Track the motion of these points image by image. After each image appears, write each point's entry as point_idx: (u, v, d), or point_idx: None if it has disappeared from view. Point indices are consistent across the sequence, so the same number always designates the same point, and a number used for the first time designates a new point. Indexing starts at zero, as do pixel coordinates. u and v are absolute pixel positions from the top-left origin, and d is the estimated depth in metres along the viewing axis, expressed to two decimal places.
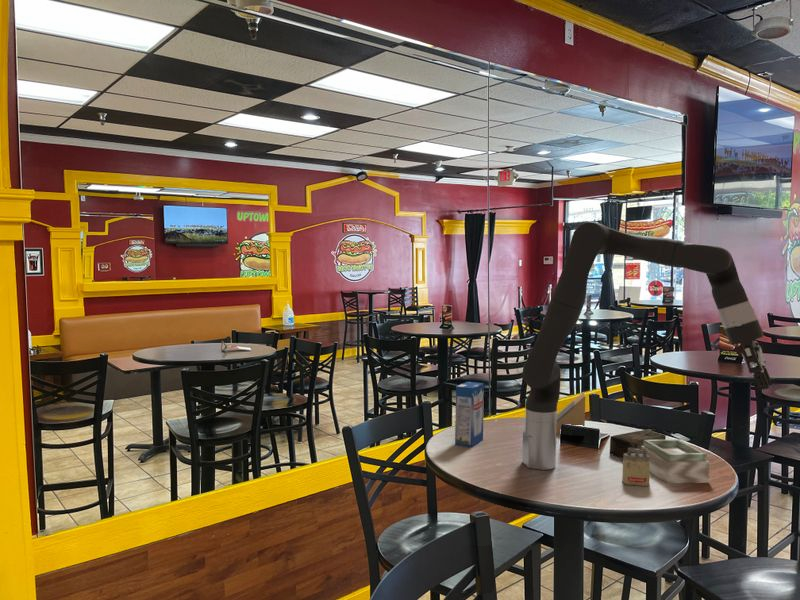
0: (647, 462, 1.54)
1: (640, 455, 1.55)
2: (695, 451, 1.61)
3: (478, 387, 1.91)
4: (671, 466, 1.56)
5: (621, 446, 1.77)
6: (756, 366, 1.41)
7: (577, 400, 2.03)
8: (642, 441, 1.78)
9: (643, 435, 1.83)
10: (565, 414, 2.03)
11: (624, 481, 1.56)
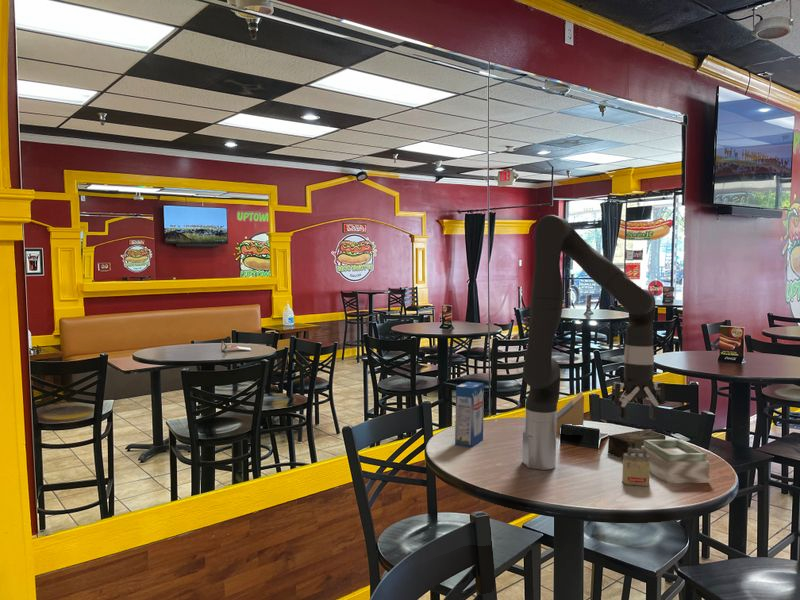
0: (647, 462, 1.54)
1: (640, 455, 1.55)
2: (695, 451, 1.61)
3: (478, 387, 1.91)
4: (671, 466, 1.56)
5: (619, 445, 1.78)
6: (650, 402, 1.56)
7: (576, 400, 2.04)
8: (640, 441, 1.79)
9: (642, 435, 1.83)
10: (564, 414, 2.03)
11: (624, 481, 1.56)
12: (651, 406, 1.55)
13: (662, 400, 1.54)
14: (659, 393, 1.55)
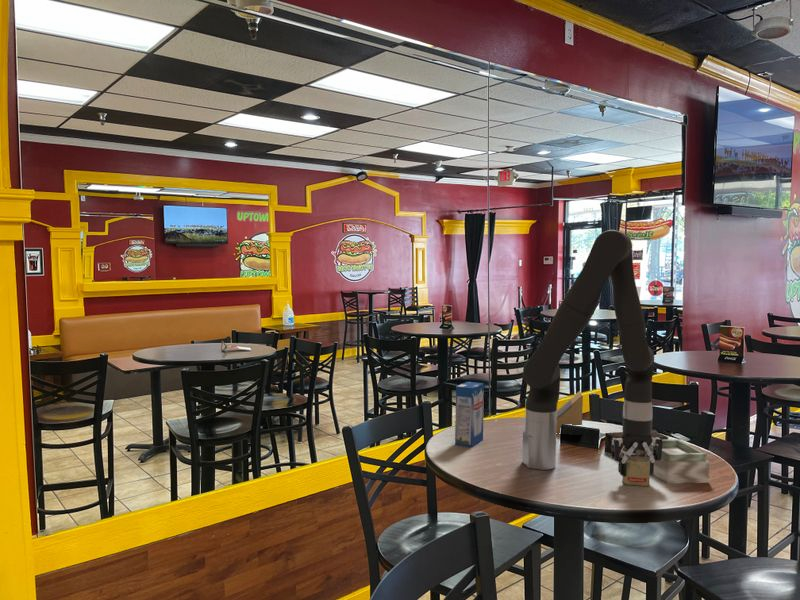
0: (647, 462, 1.54)
1: (640, 455, 1.55)
2: (695, 451, 1.61)
3: (478, 387, 1.91)
4: (671, 466, 1.56)
5: None
6: None
7: (574, 399, 2.04)
8: None
9: None
10: (563, 413, 2.03)
11: (624, 481, 1.56)
12: None
13: (658, 456, 1.55)
14: (656, 449, 1.56)
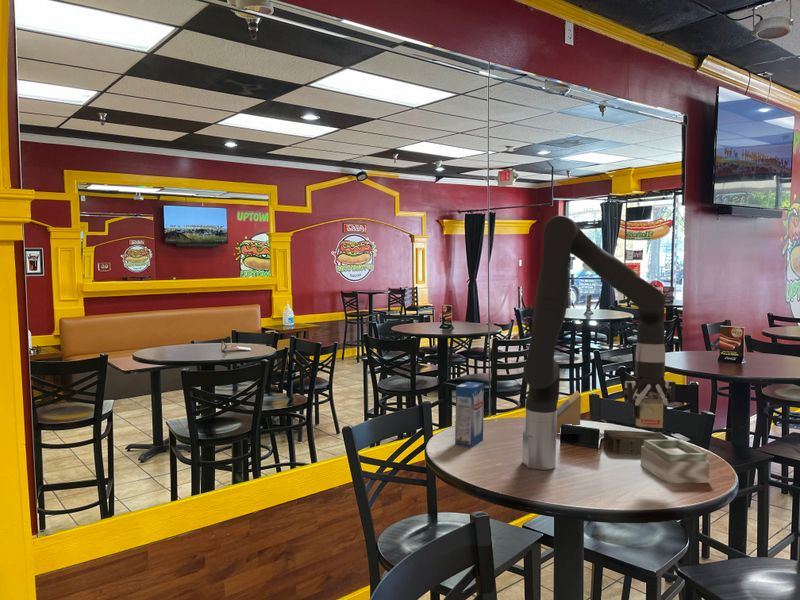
0: (660, 404, 1.55)
1: (653, 398, 1.57)
2: (695, 451, 1.61)
3: (478, 387, 1.91)
4: (671, 466, 1.56)
5: (606, 439, 1.84)
6: None
7: (572, 399, 2.05)
8: (629, 438, 1.81)
9: (641, 435, 1.83)
10: (561, 413, 2.04)
11: (637, 424, 1.57)
12: None
13: (672, 399, 1.56)
14: (669, 392, 1.57)
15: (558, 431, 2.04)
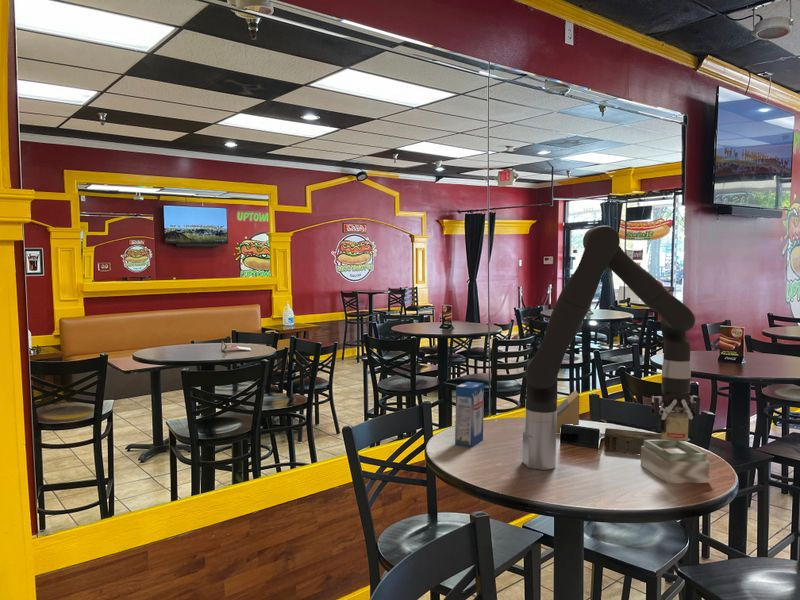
0: (686, 418, 1.61)
1: (679, 412, 1.63)
2: (695, 451, 1.61)
3: (478, 387, 1.91)
4: (671, 466, 1.56)
5: (604, 437, 1.87)
6: None
7: (571, 399, 2.05)
8: (626, 437, 1.82)
9: (641, 435, 1.84)
10: (560, 413, 2.04)
11: (664, 437, 1.63)
12: None
13: (696, 413, 1.63)
14: (694, 406, 1.63)
15: (557, 431, 2.04)
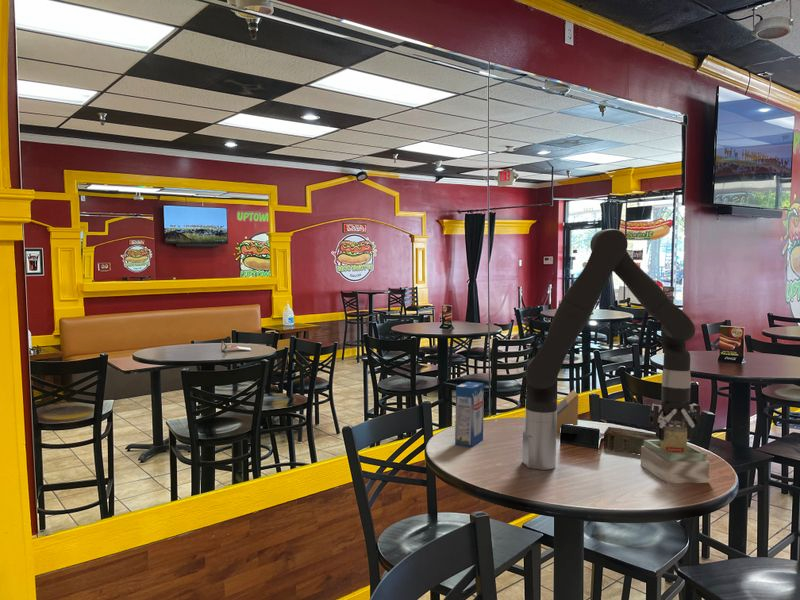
0: (685, 432, 1.62)
1: (678, 426, 1.63)
2: (695, 451, 1.61)
3: (478, 387, 1.91)
4: (671, 466, 1.56)
5: None
6: (687, 423, 1.65)
7: (569, 398, 2.06)
8: (623, 436, 1.83)
9: (640, 435, 1.84)
10: (559, 413, 2.04)
11: None
12: (688, 427, 1.64)
13: (698, 421, 1.63)
14: (695, 415, 1.63)
15: (556, 431, 2.05)
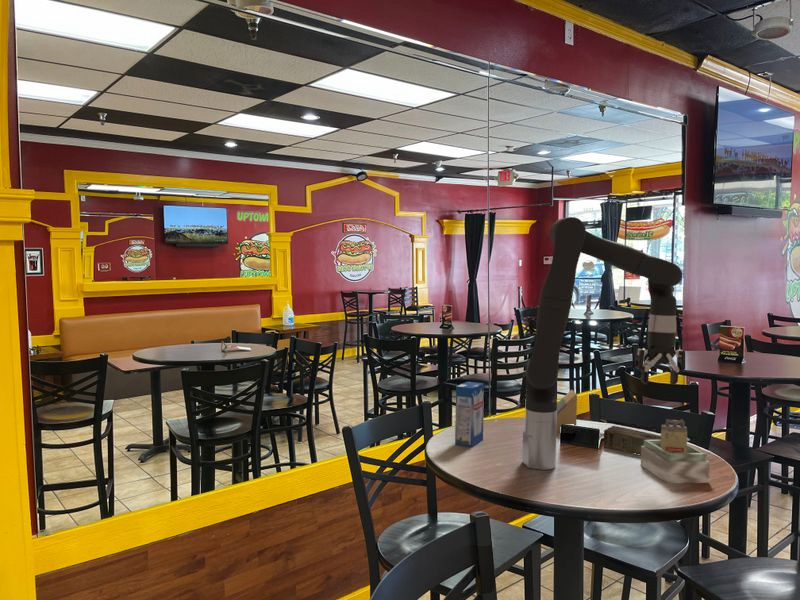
0: (685, 432, 1.62)
1: (678, 426, 1.63)
2: (695, 451, 1.61)
3: (478, 387, 1.91)
4: (671, 466, 1.56)
5: None
6: (672, 368, 1.68)
7: (568, 398, 2.06)
8: (622, 435, 1.85)
9: (640, 435, 1.84)
10: (557, 412, 2.05)
11: None
12: (672, 372, 1.67)
13: (683, 366, 1.66)
14: (680, 360, 1.67)
15: None
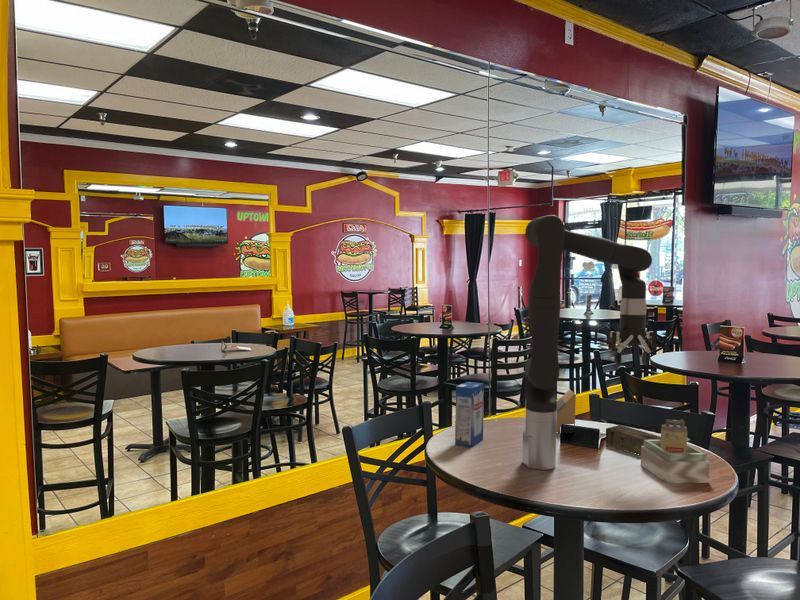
0: (685, 432, 1.62)
1: (678, 426, 1.63)
2: (695, 451, 1.61)
3: (478, 387, 1.91)
4: (671, 466, 1.56)
5: None
6: (643, 349, 1.76)
7: (567, 398, 2.06)
8: (621, 434, 1.86)
9: (639, 434, 1.84)
10: None
11: None
12: (644, 353, 1.75)
13: (653, 347, 1.74)
14: (651, 341, 1.75)
15: None
